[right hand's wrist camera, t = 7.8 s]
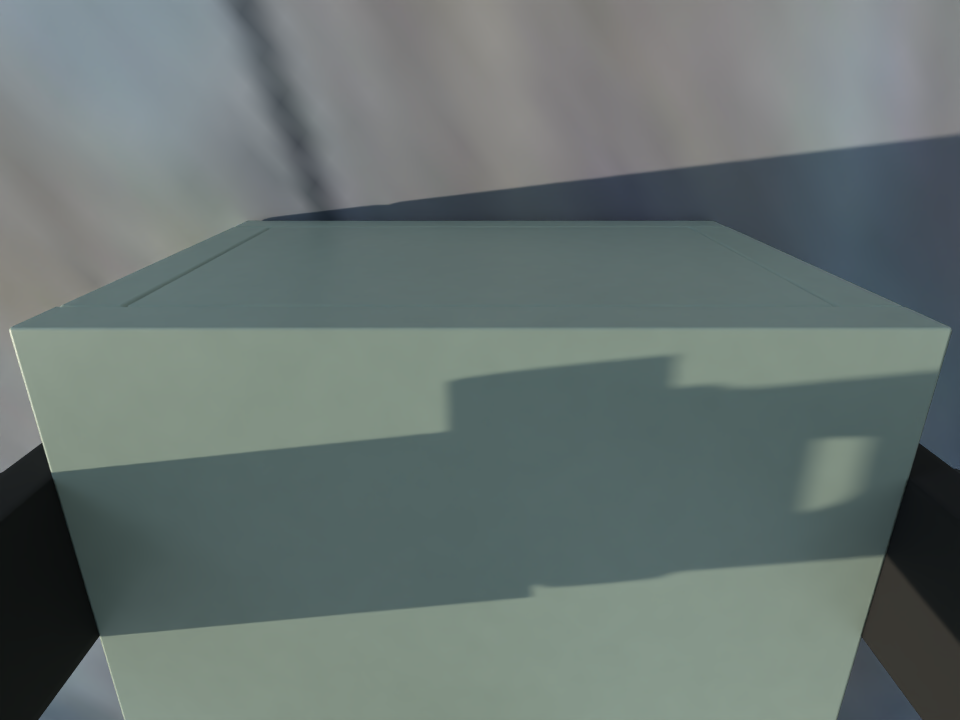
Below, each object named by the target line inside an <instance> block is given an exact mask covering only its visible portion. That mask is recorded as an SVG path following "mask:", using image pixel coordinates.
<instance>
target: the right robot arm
mask: <svg viewBox="0 0 960 720" xmlns="http://www.w3.org/2000/svg"><path fill="white" fill-rule="evenodd" d="M98 637H99V632H98V629H97V626H96V622H95V619H94V615H93V612H92V609H91V605H90V602H89V599H88V595H87V592H86V588H85V585H84V582H83V578H82V575H81V572H80V568H79V565H78V561H77V558H76V555H75V551H74V548H73V545H72V541H71V538H70V534H69V531H68V528H67V524H66V521H65V518H64V514H63V511H62V507H61V504H60V501H59V497H58V494H57V491H56V487H55V484H54V480H53V477H52V474H51V470H50V467H49V464H48V460H47V457H46V453H45V450H44V447H43V443H41V444H40V445H39V446H37V447H36V448H35V449H33V450H32V451H31V452H29V453H28V454H27V455H25V456H24V457H23V458H21V459H20V460H19V461H17V462H16V463H14V464H13V465H12V466H10V467H9V468H8V469H6V470H5V471H4V472H2V473H0V720H38V719H39V718H40V717H41V715H42V714H43V712H44V711H45V710H46V708H47V707H48V706H49V704H50V703H51V702H52V700H53V699H54V697H55V696H56V695H57V693H58V692H59V691H60V689H61V688H62V687H63V685H64V684H65V682H66V681H67V680H68V678H69V677H70V676H71V674H72V673H73V671H74V670H75V669H76V667H77V666H78V665H79V663H80V662H81V661H82V659H83V658H84V656H85V655H86V654H87V652H88V651H89V650H90V648H91V647H92V646H93V644H94V643H95V641H96V640H97V639H98ZM862 638H863V639H864V641H865V642H866V643H867V645H868V646H869V647H870V649H871V650H872V651H873V653H874V654H875V656H876V657H877V658H878V660H879V661H880V662H881V664H882V665H883V666H884V668H885V669H886V671H887V672H888V673H889V675H890V676H891V677H892V679H893V680H894V681H895V683H896V684H897V686H898V687H899V688H900V690H901V691H902V692H903V694H904V695H905V696H906V698H907V699H908V701H909V702H910V703H911V705H912V706H913V707H914V709H915V710H916V712H917V713H918V714H919V716H920V717H921V718H922V720H960V470H958V469H953V468H952V467H950V466H949V465H948V464H946V463H945V462H944V461H942V460H941V459H940V458H938V457H937V456H936V455H934V454H933V453H932V452H930V451H929V450H927V449H926V448H925V447H923V446H922V445H921V444H919V445H918V448H917V451H916V455H915V458H914V461H913V465H912V468H911V472H910V475H909V478H908V482H907V485H906V488H905V492H904V495H903V499H902V502H901V505H900V509H899V512H898V515H897V519H896V522H895V525H894V529H893V532H892V536H891V539H890V542H889V546H888V549H887V552H886V556H885V559H884V563H883V566H882V569H881V573H880V576H879V579H878V583H877V586H876V590H875V593H874V596H873V600H872V603H871V606H870V610H869V613H868V617H867V620H866V623H865V627H864V630H863V633H862Z"/></svg>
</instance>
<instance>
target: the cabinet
mask: <svg viewBox="0 0 960 720" xmlns="http://www.w3.org/2000/svg"><path fill="white" fill-rule="evenodd" d="M9 332H10V335H11V339H12V342H13V346H14V349H15V352H16V356H17V359H18V362H19V366H20V369H21V373H22V376H23V379H24V383H25V386H26V389H27V393H28V396H29V400H30V403H31V406H32V410H33V413H34V416H35V420H36V423H37V426H38V430H39V433H40V437H41V440H42V443H43V447H44V450H45V453H46V457H47V460H48V464H49V467H50V470H51V474H52V477H53V480H54V484H55V487H56V491H57V494H58V497H59V501H60V504H61V507H62V511H63V514H64V518H65V521H66V524H67V528H68V531H69V534H70V538H71V541H72V545H73V548H74V551H75V555H76V558H77V561H78V565H79V568H80V572H81V575H82V578H83V582H84V585H85V588H86V592H87V595H88V599H89V602H90V605H91V609H92V612H93V615H94V619H95V622H96V626H97V629H98V632H99V636H100V639H101V642H102V646H103V649H104V653H105V656H106V659H107V663H108V666H109V669H110V673H111V676H112V680H113V683H114V686H115V690H116V693H117V696H118V700H119V703H120V707H121V710H122V713H123V717H124V720H837V718H838V714H839V711H840V708H841V704H842V701H843V698H844V694H845V691H846V687H847V684H848V681H849V677H850V674H851V671H852V667H853V664H854V660H855V657H856V654H857V650H858V647H859V644H860V640H861V637H862V633H863V630H864V627H865V623H866V620H867V617H868V613H869V610H870V606H871V603H872V600H873V596H874V593H875V590H876V586H877V583H878V579H879V576H880V573H881V569H882V566H883V563H884V559H885V556H886V552H887V549H888V546H889V542H890V539H891V536H892V532H893V529H894V525H895V522H896V519H897V515H898V512H899V509H900V505H901V502H902V499H903V495H904V492H905V488H906V485H907V482H908V478H909V475H910V472H911V468H912V465H913V461H914V458H915V455H916V451H917V448H918V445H919V441H920V438H921V434H922V431H923V428H924V424H925V421H926V418H927V414H928V411H929V407H930V404H931V401H932V397H933V394H934V391H935V387H936V384H937V380H938V377H939V374H940V370H941V367H942V364H943V360H944V357H945V353H946V350H947V347H948V343H949V340H950V337H951V333H952V328H951V327H949V326H947V325H944V324H942V323H940V322H938V321H935V320H933V319H931V318H929V317H927V316H924V315H922V314H920V313H918V312H916V311H913V310H911V309H909V308H907V307H902V306H901V305H899V304H897V303H895V302H893V301H890V300H888V299H886V298H884V297H882V296H879V295H877V294H875V293H873V292H870V291H868V290H866V289H864V288H862V287H859V286H857V285H855V284H853V283H851V282H848V281H846V280H844V279H842V278H840V277H837V276H835V275H833V274H831V273H829V272H826V271H824V270H822V269H820V268H818V267H815V266H813V265H811V264H809V263H806V262H804V261H802V260H800V259H798V258H795V257H793V256H791V255H789V254H787V253H784V252H782V251H780V250H778V249H776V248H773V247H771V246H769V245H767V244H765V243H762V242H760V241H758V240H756V239H753V238H751V237H749V236H747V235H745V234H742V233H740V232H738V231H736V230H734V229H731V228H729V227H726V226H724V225H721V224H719V223H717V222H715V221H246V222H244V223H242V224H240V225H238V226H235V227H233V228H231V229H229V230H226V231H224V232H222V233H220V234H218V235H215V236H213V237H211V238H209V239H207V240H204V241H202V242H200V243H198V244H196V245H193V246H191V247H189V248H187V249H185V250H182V251H180V252H178V253H176V254H174V255H172V256H169V257H167V258H165V259H163V260H161V261H158V262H156V263H154V264H152V265H150V266H147V267H145V268H143V269H141V270H139V271H136V272H134V273H132V274H130V275H128V276H125V277H123V278H121V279H119V280H117V281H114V282H112V283H110V284H108V285H106V286H103V287H101V288H99V289H97V290H95V291H92V292H90V293H88V294H86V295H84V296H81V297H79V298H77V299H75V300H73V301H70V302H68V303H66V304H64V305H62V306H61V307H55V308H53V309H50V310H48V311H46V312H44V313H42V314H39V315H37V316H35V317H33V318H31V319H28V320H26V321H24V322H22V323H19V324H17V325H15V326H13V327H11V328H10V330H9Z"/></svg>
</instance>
